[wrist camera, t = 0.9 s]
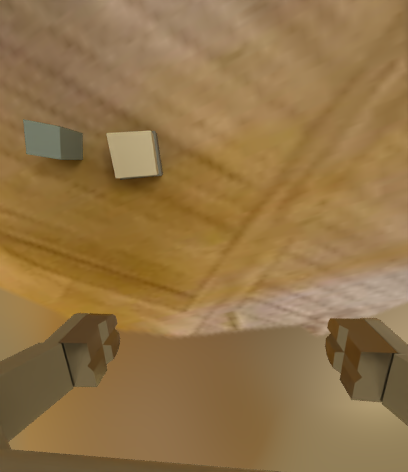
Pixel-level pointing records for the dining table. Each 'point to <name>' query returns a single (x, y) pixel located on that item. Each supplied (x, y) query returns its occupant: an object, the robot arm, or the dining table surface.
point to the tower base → (157, 159)
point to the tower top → (133, 153)
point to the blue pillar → (52, 141)
